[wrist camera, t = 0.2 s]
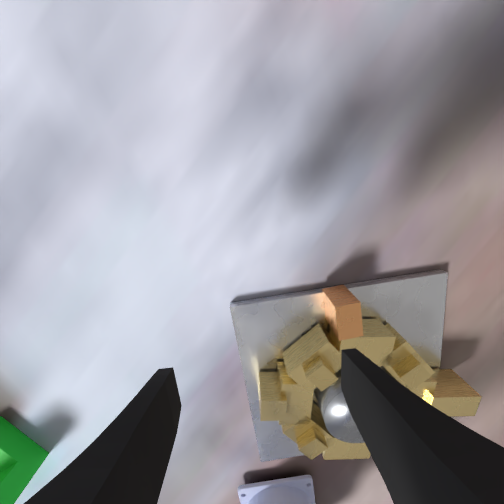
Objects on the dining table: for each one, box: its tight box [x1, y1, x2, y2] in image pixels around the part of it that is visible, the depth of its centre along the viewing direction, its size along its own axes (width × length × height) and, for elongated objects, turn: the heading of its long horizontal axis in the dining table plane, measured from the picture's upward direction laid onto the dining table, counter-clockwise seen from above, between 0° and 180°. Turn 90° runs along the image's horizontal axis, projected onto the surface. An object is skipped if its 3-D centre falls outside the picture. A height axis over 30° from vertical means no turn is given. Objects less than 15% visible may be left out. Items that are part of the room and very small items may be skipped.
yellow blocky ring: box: [258, 319, 481, 460], centre depth 21 cm, size 18×13×4 cm
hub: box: [230, 269, 448, 462], centre depth 21 cm, size 18×18×4 cm
